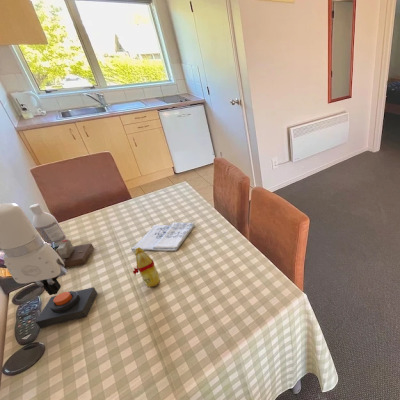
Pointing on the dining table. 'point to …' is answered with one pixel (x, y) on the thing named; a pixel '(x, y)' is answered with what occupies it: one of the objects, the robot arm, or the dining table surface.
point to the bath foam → (47, 225)
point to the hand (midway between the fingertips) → (55, 291)
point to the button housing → (67, 308)
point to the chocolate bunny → (146, 268)
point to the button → (62, 298)
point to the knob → (65, 249)
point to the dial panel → (78, 255)
